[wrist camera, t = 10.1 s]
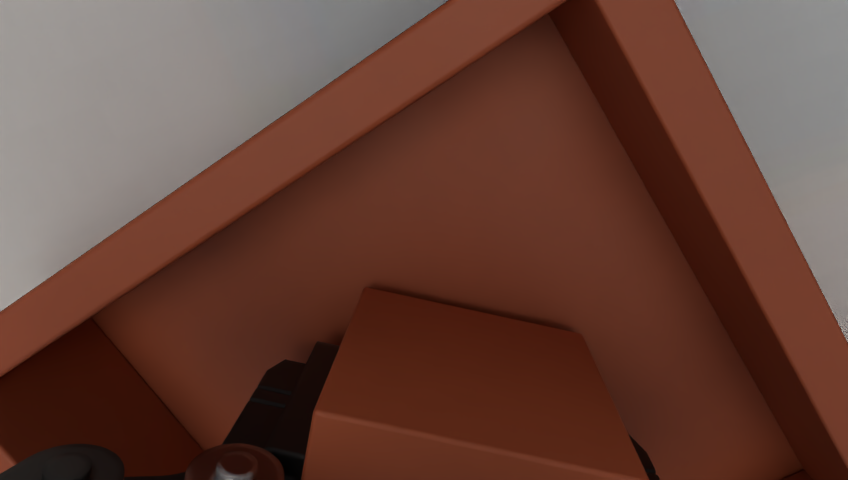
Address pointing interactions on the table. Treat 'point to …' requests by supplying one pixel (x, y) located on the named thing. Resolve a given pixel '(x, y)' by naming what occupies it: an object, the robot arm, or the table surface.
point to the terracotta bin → (461, 250)
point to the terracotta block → (463, 400)
